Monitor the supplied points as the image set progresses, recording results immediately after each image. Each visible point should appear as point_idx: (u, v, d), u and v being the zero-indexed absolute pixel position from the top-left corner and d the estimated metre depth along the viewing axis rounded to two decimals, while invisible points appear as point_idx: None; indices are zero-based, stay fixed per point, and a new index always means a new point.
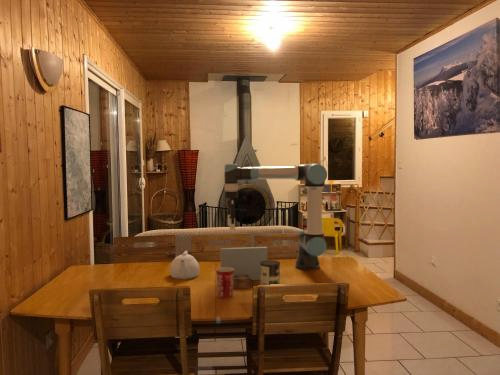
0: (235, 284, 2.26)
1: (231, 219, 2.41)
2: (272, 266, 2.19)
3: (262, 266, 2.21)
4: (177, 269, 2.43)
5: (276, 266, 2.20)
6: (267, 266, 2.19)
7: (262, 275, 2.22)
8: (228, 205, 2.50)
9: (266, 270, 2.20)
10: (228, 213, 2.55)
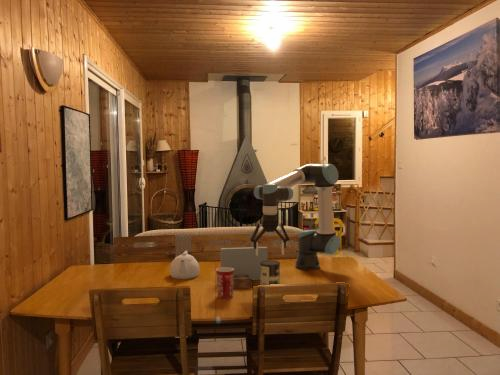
0: (235, 284, 2.26)
1: None
2: (272, 266, 2.19)
3: (262, 266, 2.21)
4: (177, 269, 2.43)
5: (276, 266, 2.20)
6: (267, 266, 2.19)
7: (262, 275, 2.22)
8: None
9: (266, 270, 2.20)
10: None
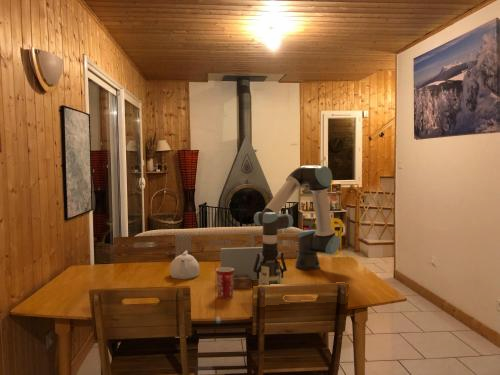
0: (235, 284, 2.26)
1: None
2: (272, 266, 2.19)
3: (262, 266, 2.21)
4: (177, 269, 2.43)
5: (276, 266, 2.20)
6: (267, 266, 2.19)
7: (262, 275, 2.22)
8: None
9: (266, 270, 2.20)
10: None
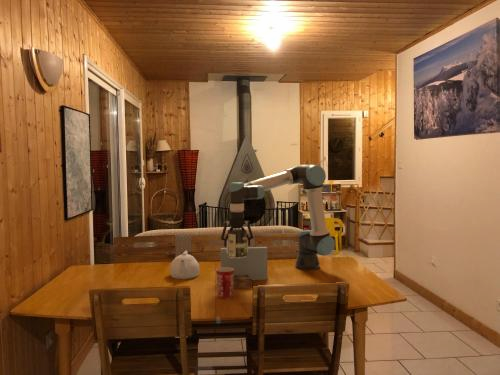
0: (235, 284, 2.26)
1: None
2: (238, 233, 2.27)
3: (229, 234, 2.29)
4: (177, 269, 2.43)
5: (242, 233, 2.28)
6: (234, 233, 2.27)
7: (229, 242, 2.29)
8: None
9: (233, 237, 2.27)
10: None
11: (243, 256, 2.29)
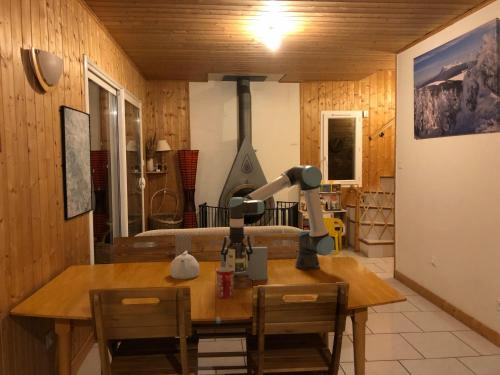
0: (235, 284, 2.26)
1: None
2: (238, 249, 2.28)
3: (229, 249, 2.30)
4: (177, 269, 2.43)
5: (242, 249, 2.29)
6: (233, 248, 2.28)
7: (229, 257, 2.30)
8: None
9: (232, 252, 2.28)
10: None
11: (242, 271, 2.30)
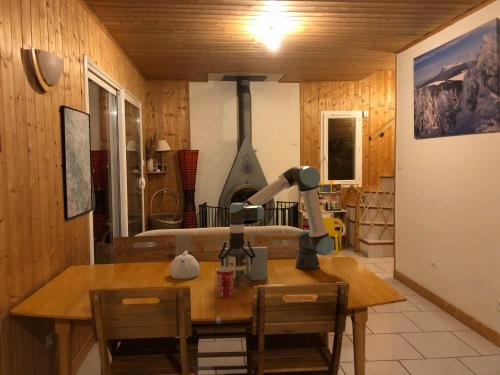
0: (235, 284, 2.26)
1: None
2: (239, 256, 2.28)
3: (229, 256, 2.30)
4: (177, 269, 2.43)
5: (242, 256, 2.29)
6: (234, 256, 2.28)
7: (229, 265, 2.30)
8: None
9: (233, 260, 2.29)
10: None
11: None
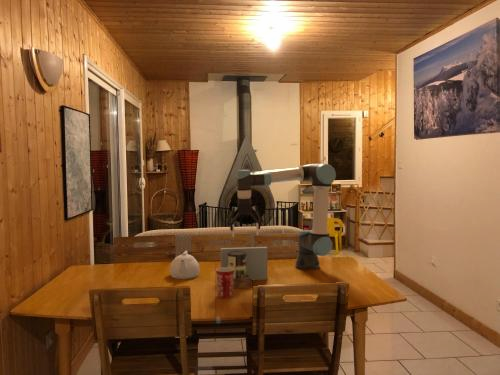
0: (235, 284, 2.26)
1: None
2: (238, 256, 2.28)
3: (229, 256, 2.30)
4: (177, 269, 2.43)
5: (242, 256, 2.29)
6: (234, 256, 2.28)
7: (229, 265, 2.30)
8: (248, 212, 2.41)
9: (233, 260, 2.29)
10: (257, 221, 2.42)
11: None
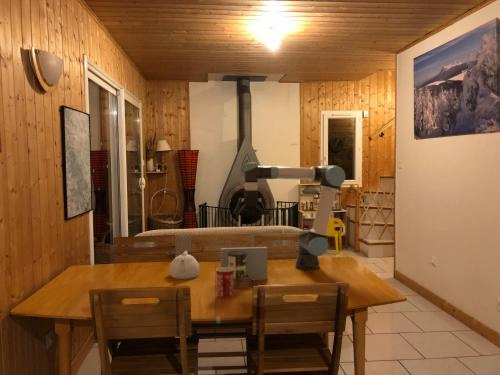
0: (235, 284, 2.26)
1: None
2: (239, 256, 2.28)
3: (229, 256, 2.30)
4: (177, 269, 2.43)
5: (242, 256, 2.29)
6: (234, 256, 2.28)
7: (229, 265, 2.30)
8: None
9: (233, 260, 2.29)
10: None
11: None
